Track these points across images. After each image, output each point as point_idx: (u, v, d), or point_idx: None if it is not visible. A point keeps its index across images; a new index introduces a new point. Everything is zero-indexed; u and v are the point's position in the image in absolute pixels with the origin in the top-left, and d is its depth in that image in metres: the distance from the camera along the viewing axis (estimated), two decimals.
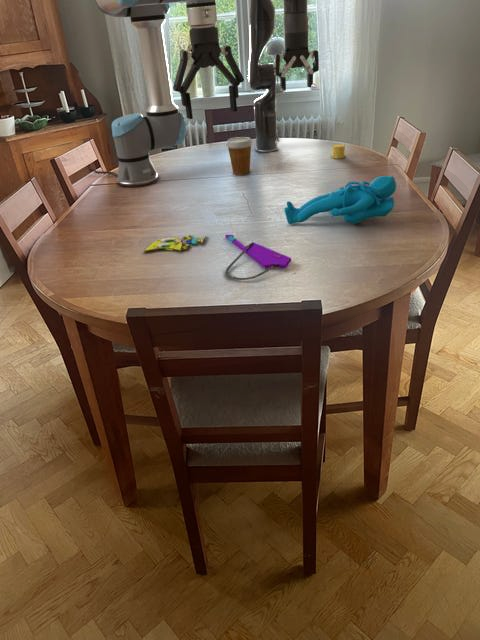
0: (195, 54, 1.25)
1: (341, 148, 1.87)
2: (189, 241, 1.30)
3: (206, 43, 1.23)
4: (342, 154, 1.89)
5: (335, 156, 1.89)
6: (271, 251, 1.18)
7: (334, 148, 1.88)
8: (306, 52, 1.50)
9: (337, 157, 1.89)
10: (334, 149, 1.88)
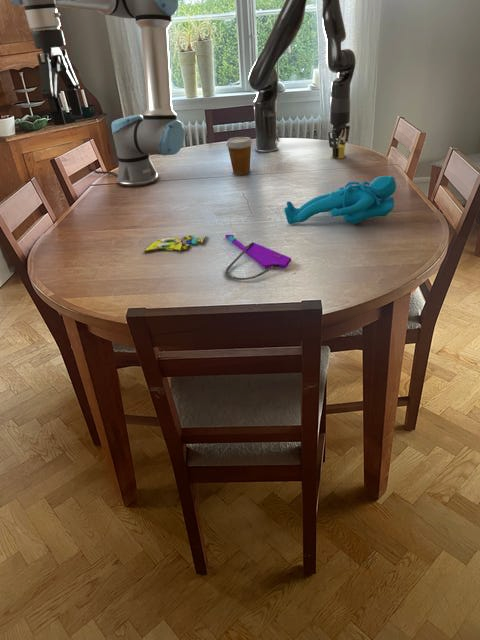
0: (52, 57, 1.20)
1: (341, 148, 1.87)
2: (189, 241, 1.30)
3: (62, 45, 1.21)
4: (342, 154, 1.89)
5: None
6: (271, 251, 1.18)
7: None
8: None
9: None
10: None
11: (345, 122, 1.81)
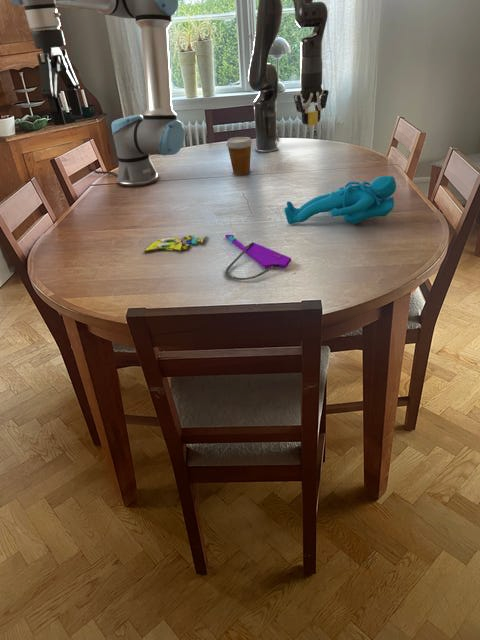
0: (52, 57, 1.20)
1: (311, 114, 1.72)
2: (189, 241, 1.30)
3: (62, 45, 1.21)
4: (312, 121, 1.73)
5: None
6: (271, 251, 1.18)
7: None
8: None
9: (307, 124, 1.74)
10: None
11: (312, 84, 1.66)
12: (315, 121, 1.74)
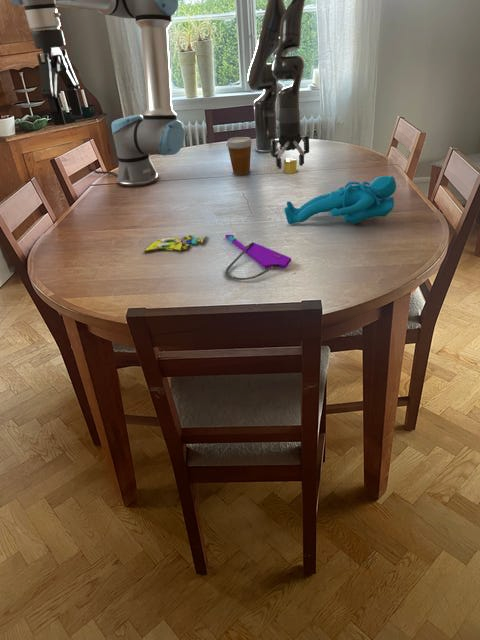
0: (52, 57, 1.20)
1: (288, 163, 1.76)
2: (189, 241, 1.30)
3: (62, 45, 1.21)
4: (289, 169, 1.77)
5: (284, 170, 1.79)
6: (271, 251, 1.18)
7: None
8: None
9: (285, 171, 1.78)
10: (284, 162, 1.78)
11: (287, 134, 1.69)
12: (292, 170, 1.77)
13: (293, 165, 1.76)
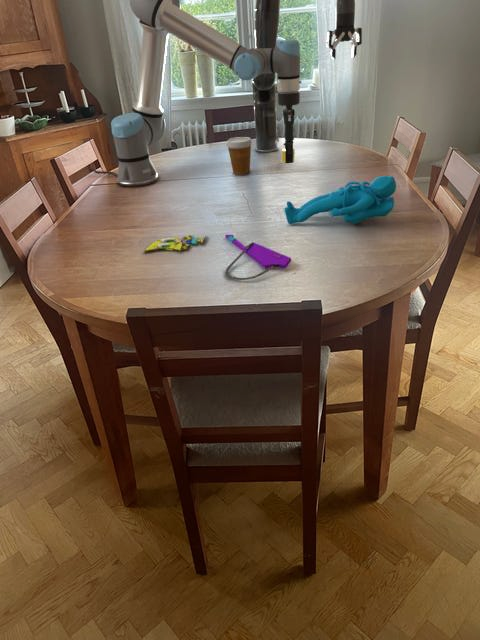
0: (292, 112, 1.65)
1: None
2: (189, 241, 1.30)
3: (298, 103, 1.66)
4: None
5: (282, 160, 1.77)
6: (271, 251, 1.18)
7: None
8: None
9: (282, 161, 1.76)
10: None
11: (343, 24, 1.89)
12: None
13: None
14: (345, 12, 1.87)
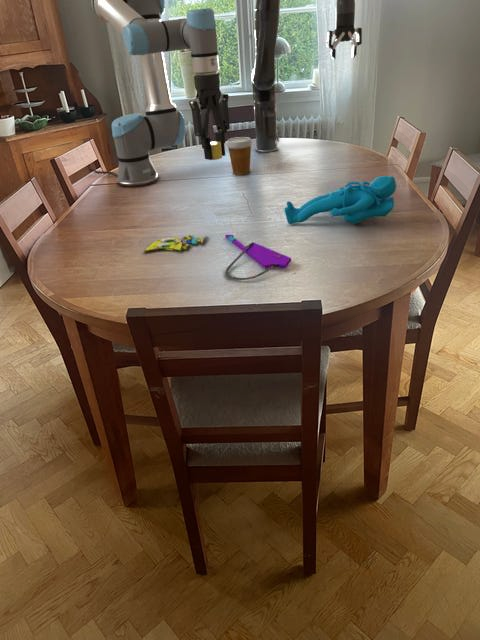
0: (202, 98, 1.37)
1: None
2: (189, 241, 1.30)
3: (213, 88, 1.35)
4: None
5: None
6: (271, 251, 1.18)
7: None
8: None
9: None
10: None
11: (343, 24, 1.89)
12: None
13: (211, 150, 1.46)
14: (345, 12, 1.87)
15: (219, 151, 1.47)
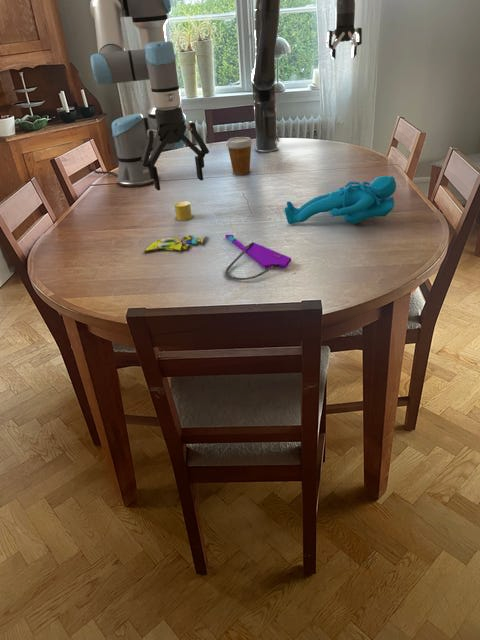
0: (161, 132, 1.31)
1: None
2: (189, 241, 1.30)
3: (171, 123, 1.29)
4: (176, 214, 1.46)
5: None
6: (271, 251, 1.18)
7: None
8: None
9: None
10: None
11: (343, 24, 1.89)
12: (178, 216, 1.46)
13: (178, 211, 1.44)
14: (345, 12, 1.87)
15: (186, 212, 1.45)
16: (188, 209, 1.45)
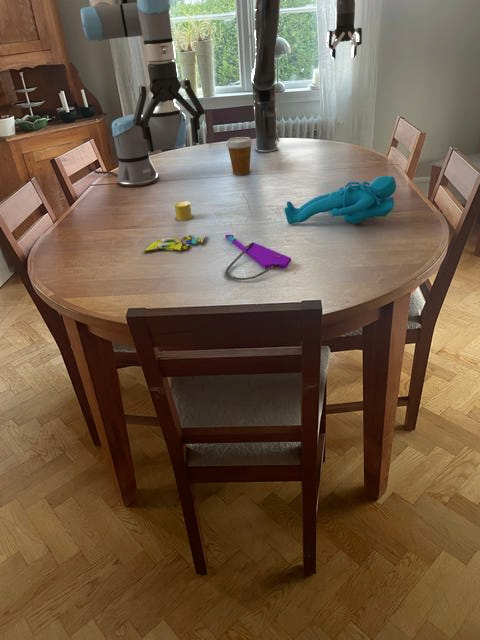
0: (154, 89, 1.25)
1: None
2: (189, 241, 1.30)
3: (164, 78, 1.23)
4: (176, 214, 1.46)
5: None
6: (271, 251, 1.18)
7: None
8: None
9: None
10: None
11: (343, 24, 1.89)
12: (178, 216, 1.46)
13: (178, 211, 1.44)
14: (345, 12, 1.87)
15: (186, 212, 1.45)
16: (188, 209, 1.45)
